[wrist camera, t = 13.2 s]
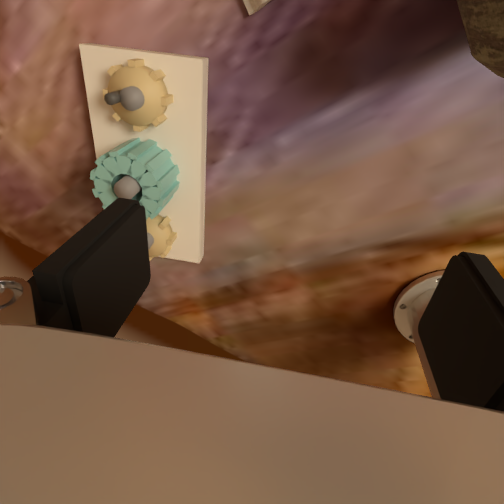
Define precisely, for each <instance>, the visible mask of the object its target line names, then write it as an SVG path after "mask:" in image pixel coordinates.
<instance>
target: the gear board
mask: <svg viewBox="0 0 504 504" xmlns="http://www.w3.org/2000/svg"><path fill="white" fill-rule="evenodd" d="M79 47H80V54H81V61H82V67H83V74H84V80H85V87H86V93H87V100H88V106H89V113H90V120H91V126H92V133H93V139H94V146H95V152H96V159H98V158H99V157H100V156H102V155H104V154H105V153H107V152H109V151H110V150H112V149H114V148H116V147H117V146H119V145H121V144H122V143H125V142H127V141H129V140H130V139H133V138H140V141H142V142H145V141H147V140H148V139H151V140H153V141H156V142H157V146H158V147H159V148H161V149H162V150H163V151H164V150H165V149H167V150H168V151H169V152H170V153H171V154H172V156H171V157H170V159H171V160H172V162H173V164H174V165H178V168H179V172H180V173H179V174H178V175H177V181H179V182H180V184H179V188H178V190H177V191H176V192H175V193H174V194H173V197H172V199H171V200H170V201H169V202H168V203H167V205H166V206H165V207H164V208H163V209H162V210H161V212H160V213H159V214H158V215H157V216H156V217H155V218H153V219H151V218H150V217H148V219H147V220H146V225H147V237H148V250H149V261H151V260H152V258H153V257H157V256H159V257H162V258H164V257H165V258H171V259H177V260H183V261H189V262H195V263H200V261H201V259H202V257H203V255H204V219H205V178H206V136H207V95H208V58H205V57H197V56H189V55H181V54H173V53H165V52H157V51H149V50H141V49H133V48H125V47H116V46H108V45H100V44H92V43H86V44H79ZM141 189H142V187H141V186H140V184H139V182H138V181H137V180H136V179H135V178H133V177H132V176H130V175H126V176H124V177H123V178H122V179H120V180H119V181H118V182H116V183H115V185H114V192H115V194H116V196H117V197H118V198H126V199H132V198H133V197H134V196H135V195H136V194H137V193H138V192H139V191H140V190H141ZM103 205H104V204H103Z"/></svg>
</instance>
